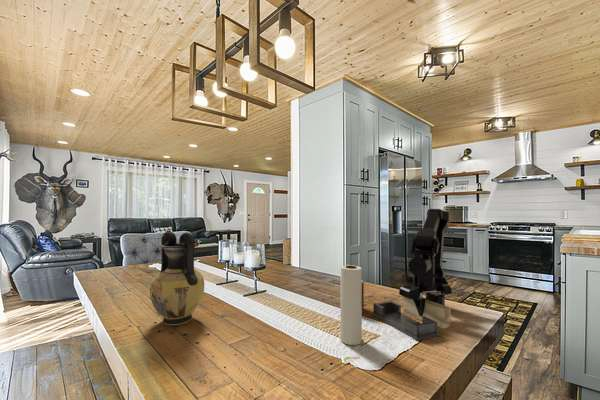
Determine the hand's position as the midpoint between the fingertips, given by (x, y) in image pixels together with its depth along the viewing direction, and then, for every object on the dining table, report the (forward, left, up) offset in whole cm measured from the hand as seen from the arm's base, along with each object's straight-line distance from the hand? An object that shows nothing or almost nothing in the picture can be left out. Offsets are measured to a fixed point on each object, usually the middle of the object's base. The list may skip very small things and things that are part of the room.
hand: (425, 315), depth 99 cm
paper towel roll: (+33, +5, -1) cm, 33 cm away
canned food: (+19, -17, -1) cm, 26 cm away
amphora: (+81, -28, -1) cm, 86 cm away
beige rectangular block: (0, 0, -1) cm, 1 cm away
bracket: (+11, +1, -1) cm, 11 cm away
